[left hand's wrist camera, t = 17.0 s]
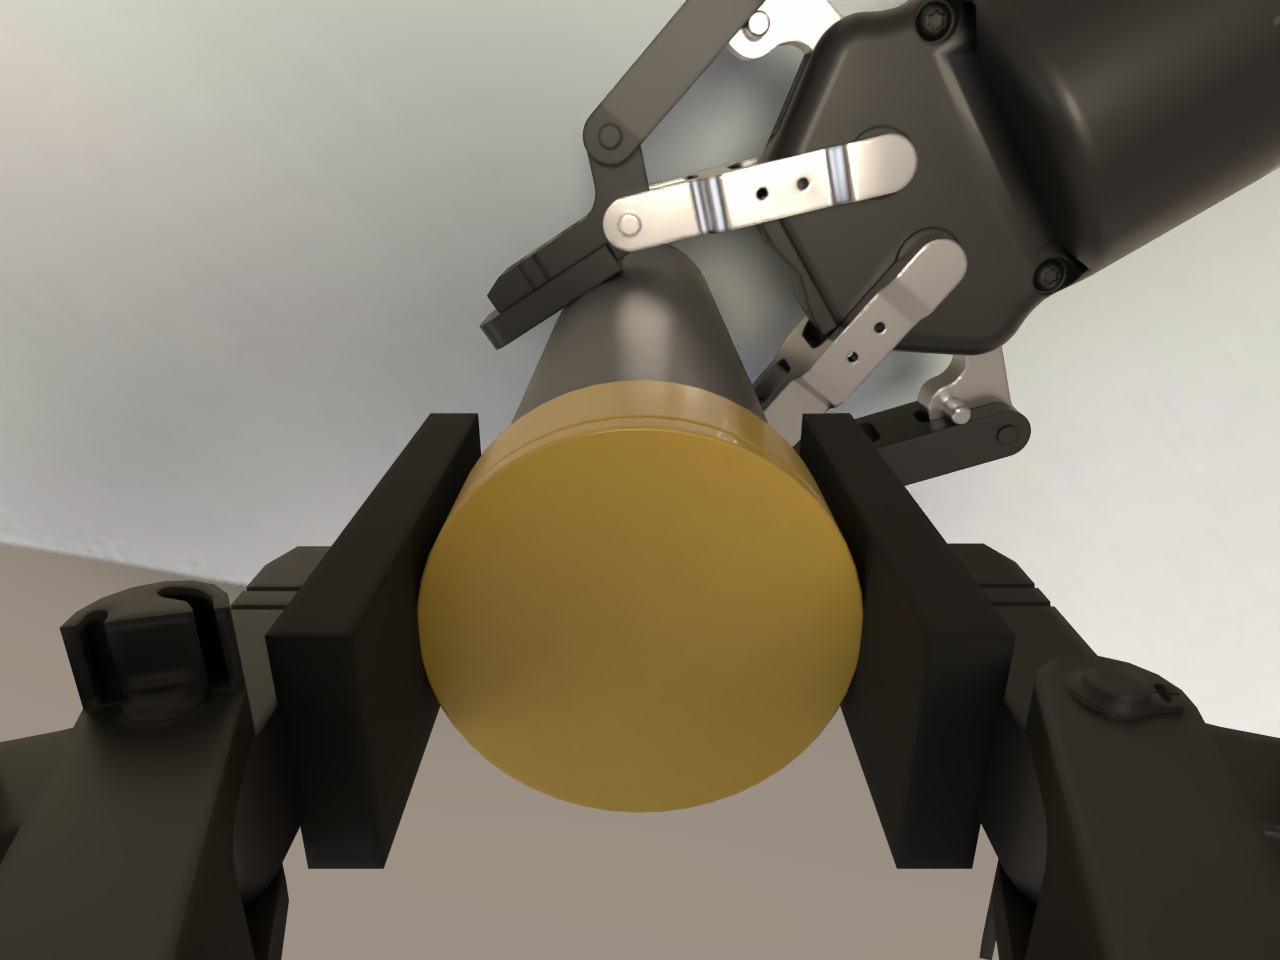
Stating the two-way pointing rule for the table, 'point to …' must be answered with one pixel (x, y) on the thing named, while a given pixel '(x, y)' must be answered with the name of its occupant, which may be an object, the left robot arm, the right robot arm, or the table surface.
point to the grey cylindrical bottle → (643, 335)
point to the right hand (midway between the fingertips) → (555, 417)
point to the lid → (640, 600)
